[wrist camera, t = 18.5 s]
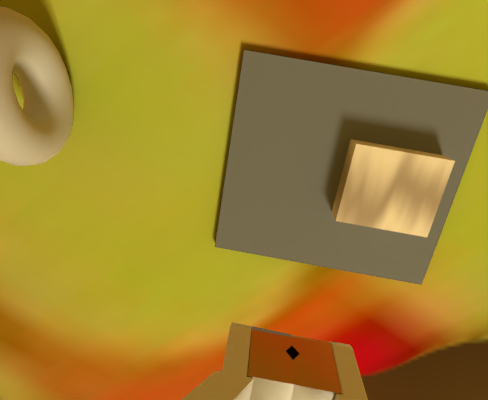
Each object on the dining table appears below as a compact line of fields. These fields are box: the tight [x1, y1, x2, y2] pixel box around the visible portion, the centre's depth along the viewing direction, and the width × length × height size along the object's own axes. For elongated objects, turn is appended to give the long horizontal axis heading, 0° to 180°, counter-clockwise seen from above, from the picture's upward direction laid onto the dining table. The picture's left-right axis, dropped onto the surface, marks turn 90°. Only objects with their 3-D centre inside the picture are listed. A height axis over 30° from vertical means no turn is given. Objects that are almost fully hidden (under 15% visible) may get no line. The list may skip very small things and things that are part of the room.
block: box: [332, 139, 455, 237], centre depth 27 cm, size 6×2×7 cm
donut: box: [0, 6, 74, 166], centre depth 24 cm, size 10×4×10 cm, turn 3°
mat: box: [215, 50, 488, 285], centre depth 28 cm, size 16×18×1 cm
